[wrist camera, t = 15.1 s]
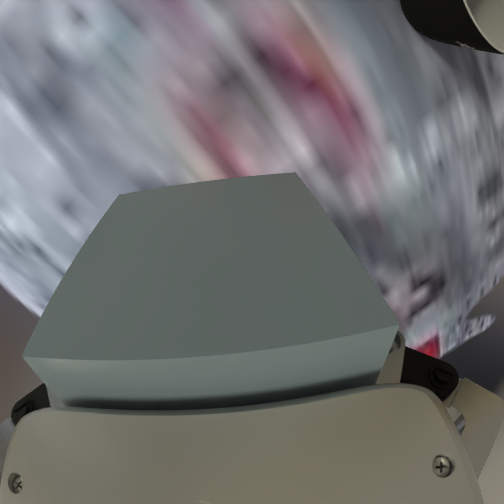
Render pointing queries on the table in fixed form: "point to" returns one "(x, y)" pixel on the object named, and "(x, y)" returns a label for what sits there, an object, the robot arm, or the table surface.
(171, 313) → the grey rounded box
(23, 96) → the table surface
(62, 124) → the table surface
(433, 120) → the table surface
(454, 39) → the mug
